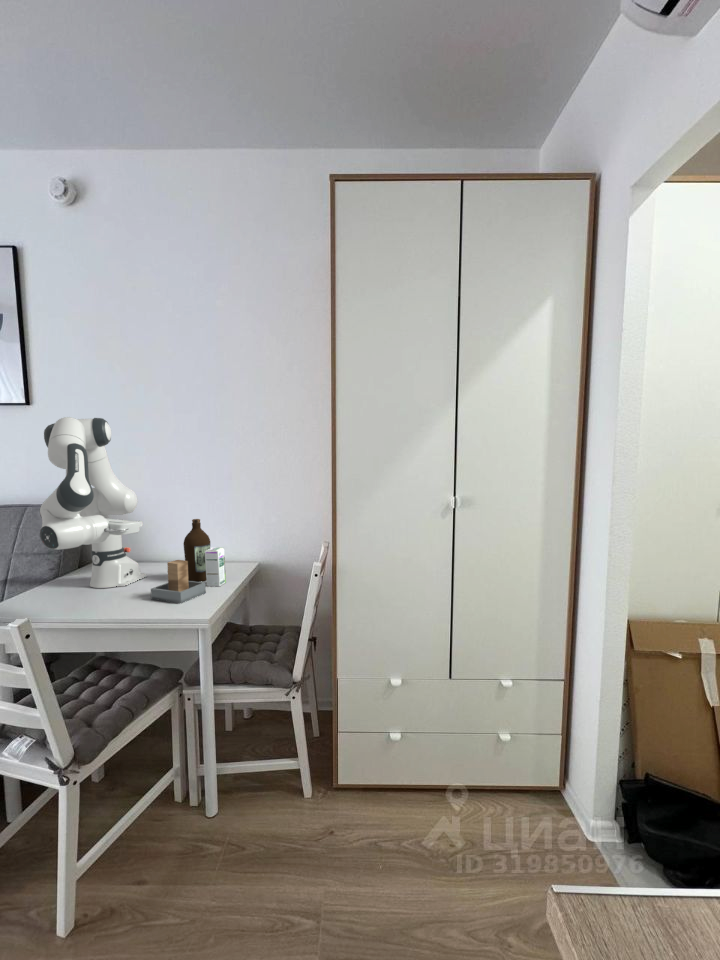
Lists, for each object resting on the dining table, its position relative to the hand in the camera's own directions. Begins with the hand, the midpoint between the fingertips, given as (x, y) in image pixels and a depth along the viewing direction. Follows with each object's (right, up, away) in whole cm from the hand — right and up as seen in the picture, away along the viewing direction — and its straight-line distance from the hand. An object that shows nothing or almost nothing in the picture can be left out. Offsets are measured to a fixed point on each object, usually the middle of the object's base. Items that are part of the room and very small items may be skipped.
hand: (131, 522), depth 188 cm
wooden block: (+11, -27, +17) cm, 34 cm away
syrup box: (+20, -27, +32) cm, 47 cm away
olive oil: (+11, -27, +40) cm, 50 cm away
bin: (+11, -28, +17) cm, 35 cm away
